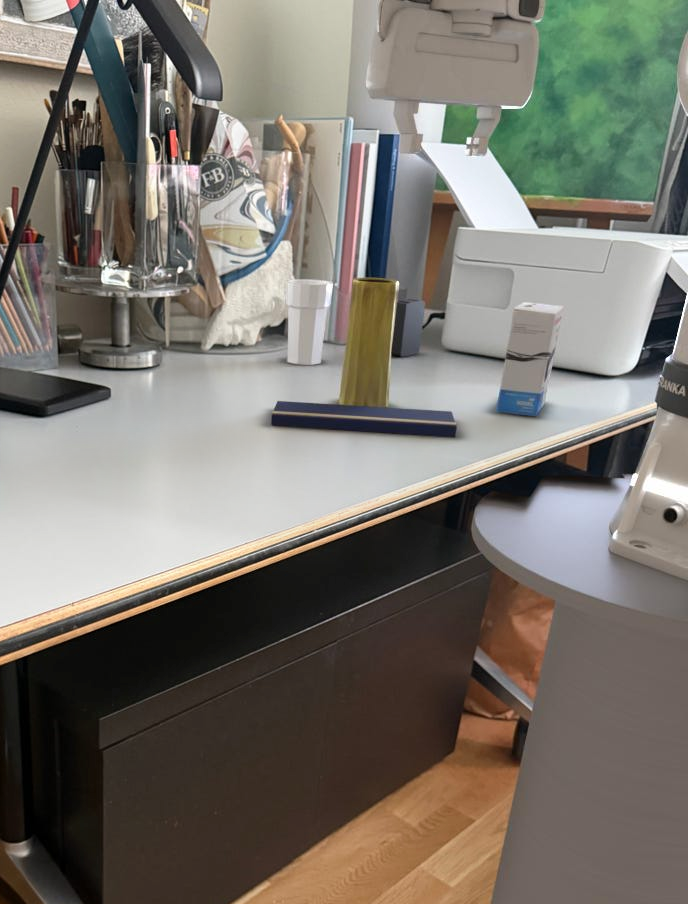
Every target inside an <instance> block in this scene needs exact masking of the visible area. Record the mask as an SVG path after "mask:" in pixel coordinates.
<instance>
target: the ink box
mask: <svg viewBox="0 0 688 904" xmlns="http://www.w3.org/2000/svg"><path fill="white" fill-rule="evenodd" d="M564 308H565V307H564V306H563V305H556V304H546V303H538V302H537V303H536V302H528V301H526V302H525V301H523V302H522V303H520V304H518V305H516V306H514V307H513V311H512V315H511V322H510V328H509V329H510V330H509V334H508V339H507V346H506V351H505V352H506V353H505V358H504V363H503V370H502V375H501V380H500V381H501V382H500V386H499V392H498V397H497V403H496V409H495V412H496V413H504V414H512V415H519V416H529V417H537V416H538V414H539V413H540V411H541V409H542V408H543V407H544V405H545V404H546V400H547V393H548V388H549V384H550V379H551V374H552V369H553V364H554V358H555V353H556V348H557V343H558V337H559V332H560V326H561V323H562V318H563V314H564V313H563V312H564Z"/></svg>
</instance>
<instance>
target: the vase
mask: <svg viewBox="0 0 688 904" xmlns="http://www.w3.org/2000/svg"><path fill="white" fill-rule="evenodd" d="M351 284H352V285H351V294H350V295H351V296H350V308H349V317H348V324H347V325H348V326H347V334H346V341H345V342H346V343H345V350H344V358H343V363H342V372H341V379H340V391H339V397H338V401H337V403H338V404H337V405H353V406H369V407H386V408H389V406H390V389H391V387H390V385H391V370H392V369H391V367H392V366H391V365H392V355H391V347H392V341H393V333H394V324H395V314H396V306H397V302H398V297H399V289H400V282H399V281H398V280H397V279H392V278H385V277H383V278H381V277H355V278H353V279H352V283H351Z"/></svg>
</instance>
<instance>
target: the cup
mask: <svg viewBox="0 0 688 904" xmlns="http://www.w3.org/2000/svg"><path fill="white" fill-rule="evenodd" d="M333 287H334V282H333V281H329V280H324V279H323V280H322V279H311V278H310V279H307V278H305V279H300V278H299V279H288V280H286V281H285V305H286V306H287V309H288V310H287V313H288V314H287V356H286V357H287V359H286V362H287V363H290V364H295V365H302V366H303V365H305V366H308V365H309V366H313V365H318V364H319V365H320V364H321V363H322V353H323V346H324V339H325V331H326V323H327V317H328V316H327V315H328V308H329V307H330V306H331V305H332V304H331V303H332V295H333Z"/></svg>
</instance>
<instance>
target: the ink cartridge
mask: <svg viewBox="0 0 688 904" xmlns="http://www.w3.org/2000/svg"><path fill="white" fill-rule="evenodd" d="M425 310H426V301H424V300H422V299H416V298H408V299H399V300H397V306H396V314H395V324H394V333H393V341H392V347H391V356H395V357H399V358H406V357H409V356H410V357H411V356H415V355H418V354H419V353H420V349H421V341H422V340H421V339H422V333H423V325H424V317H425Z"/></svg>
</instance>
